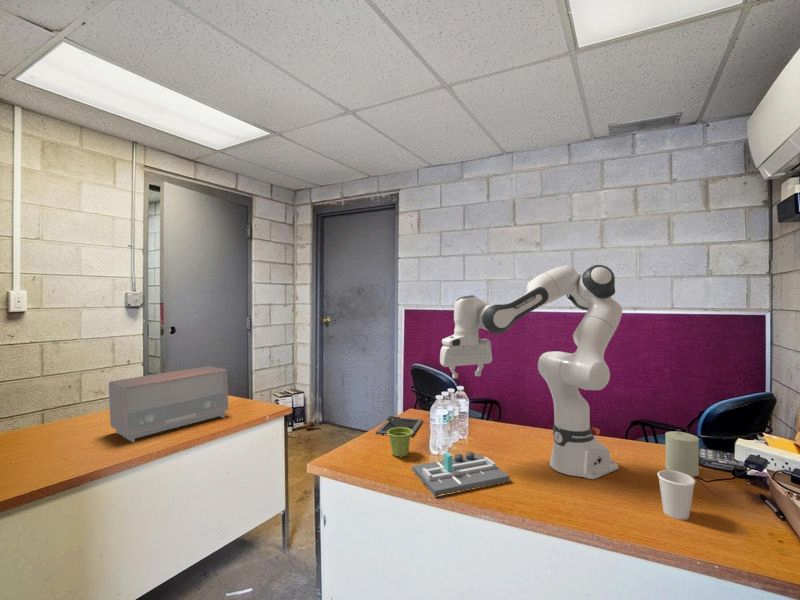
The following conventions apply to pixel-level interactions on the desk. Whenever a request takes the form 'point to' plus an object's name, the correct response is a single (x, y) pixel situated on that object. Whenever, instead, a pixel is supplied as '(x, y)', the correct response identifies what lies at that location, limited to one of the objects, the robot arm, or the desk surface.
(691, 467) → the can
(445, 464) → the fader
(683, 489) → the dixie cup
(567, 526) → the desk surface
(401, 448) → the plant pot
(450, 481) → the console
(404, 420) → the picture frame
